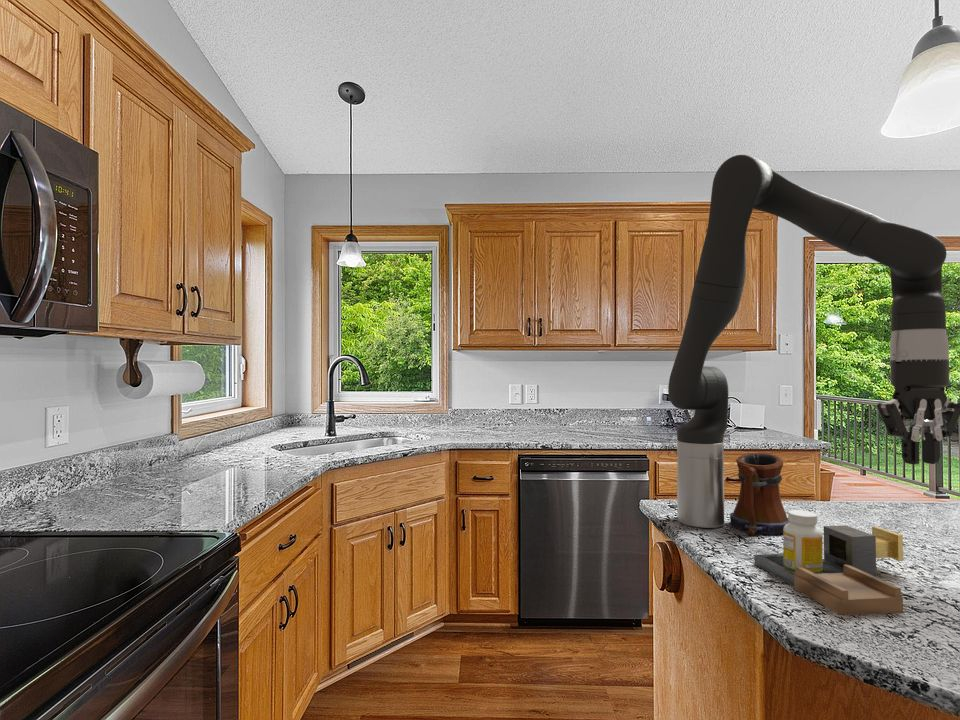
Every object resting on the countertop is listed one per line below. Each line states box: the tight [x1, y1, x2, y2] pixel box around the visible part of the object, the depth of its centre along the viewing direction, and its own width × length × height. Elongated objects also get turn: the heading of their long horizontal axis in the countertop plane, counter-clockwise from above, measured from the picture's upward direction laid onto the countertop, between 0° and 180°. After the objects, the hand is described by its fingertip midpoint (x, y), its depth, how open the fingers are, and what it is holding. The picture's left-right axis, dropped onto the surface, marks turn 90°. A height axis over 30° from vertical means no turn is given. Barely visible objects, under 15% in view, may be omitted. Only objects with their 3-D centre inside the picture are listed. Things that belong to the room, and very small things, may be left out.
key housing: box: [823, 524, 877, 577], centre depth 88 cm, size 6×4×6 cm, turn 6°
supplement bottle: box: [782, 509, 824, 574], centre depth 87 cm, size 5×5×10 cm
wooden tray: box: [793, 565, 904, 617], centre depth 77 cm, size 9×9×3 cm
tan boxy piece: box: [871, 525, 904, 562], centre depth 88 cm, size 5×6×4 cm
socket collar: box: [753, 553, 843, 587], centre depth 87 cm, size 10×10×2 cm
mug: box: [729, 452, 790, 537], centre depth 111 cm, size 18×12×15 cm, turn 141°
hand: (920, 463), depth 90 cm, fingers open, 3 cm apart
